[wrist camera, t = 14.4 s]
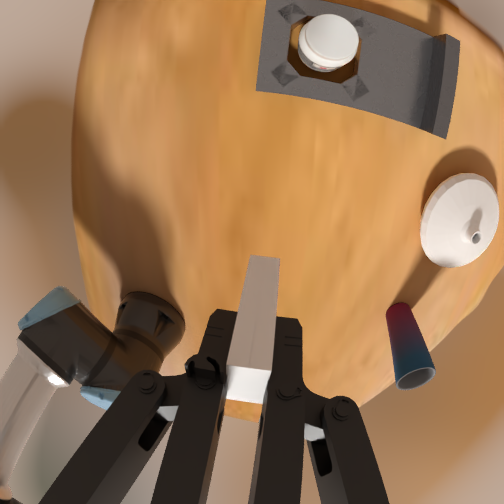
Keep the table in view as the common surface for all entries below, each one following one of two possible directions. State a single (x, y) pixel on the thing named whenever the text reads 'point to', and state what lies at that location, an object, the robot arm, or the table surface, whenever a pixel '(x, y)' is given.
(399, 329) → the cup
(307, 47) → the pill bottle
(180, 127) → the table surface
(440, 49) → the jig
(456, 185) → the lid
